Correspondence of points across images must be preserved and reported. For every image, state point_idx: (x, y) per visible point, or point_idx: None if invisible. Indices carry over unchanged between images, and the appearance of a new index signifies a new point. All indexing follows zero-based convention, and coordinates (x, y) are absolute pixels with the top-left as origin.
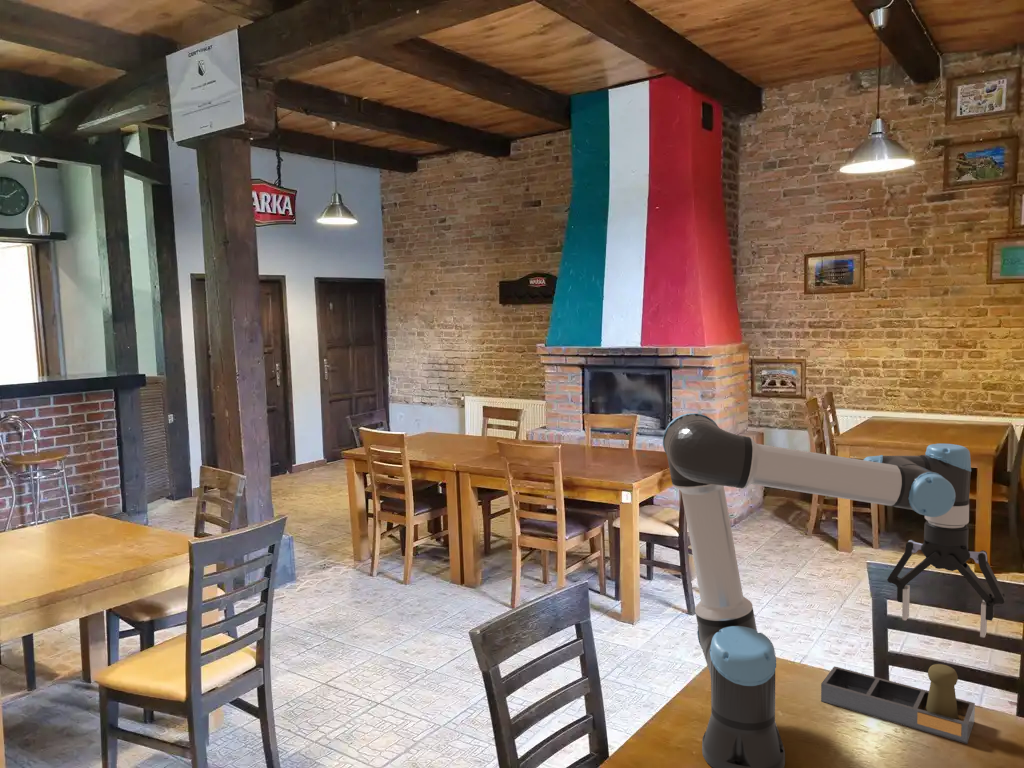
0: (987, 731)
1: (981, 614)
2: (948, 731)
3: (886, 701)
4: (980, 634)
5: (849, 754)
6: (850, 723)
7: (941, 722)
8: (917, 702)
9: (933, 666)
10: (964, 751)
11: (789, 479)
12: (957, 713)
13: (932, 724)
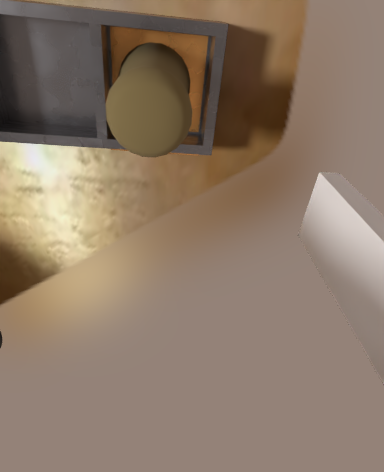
0: (246, 57)
1: (353, 327)
2: None
3: (38, 142)
4: (303, 240)
5: (49, 264)
6: (4, 178)
7: None
8: (99, 107)
9: (119, 124)
10: (202, 167)
11: None
12: (188, 89)
13: None
